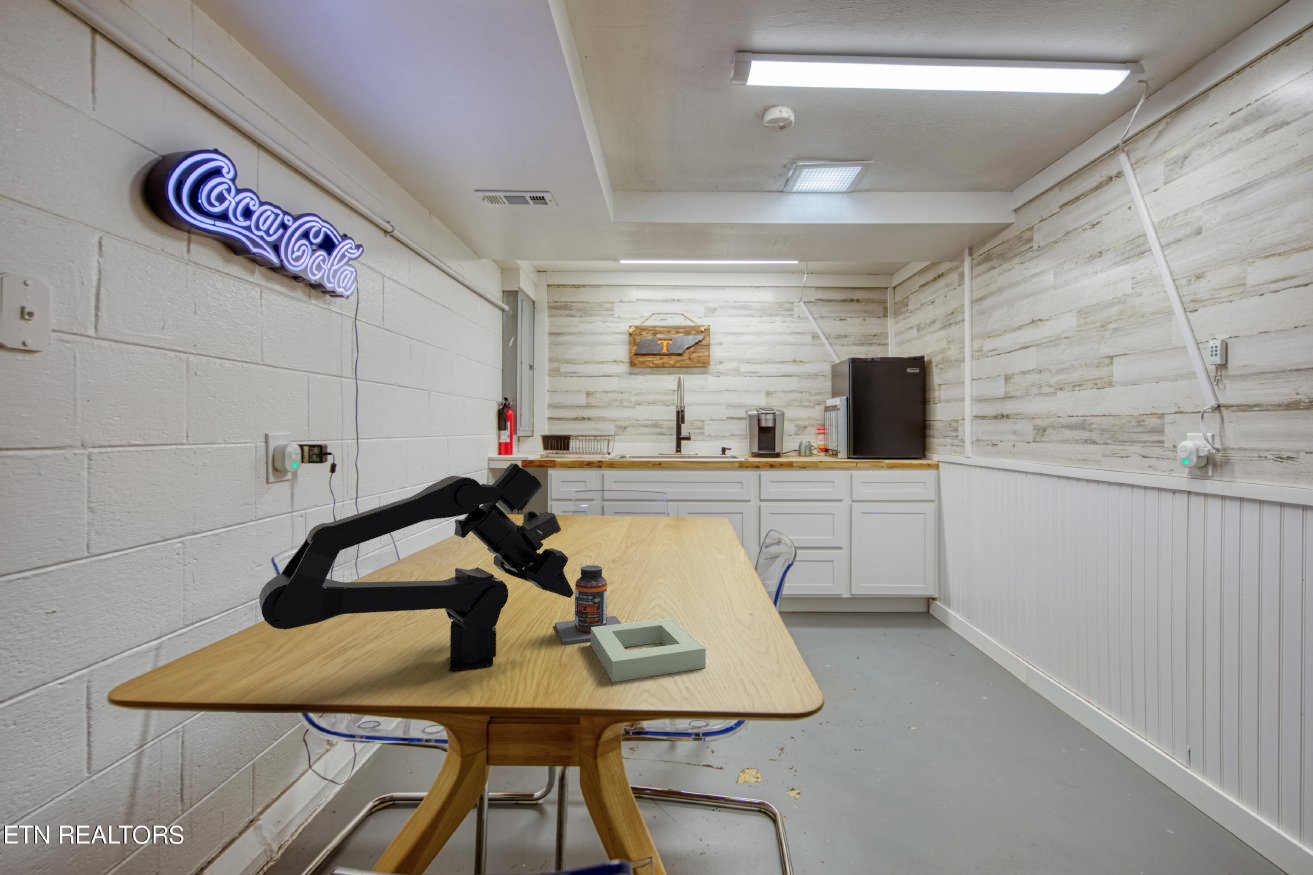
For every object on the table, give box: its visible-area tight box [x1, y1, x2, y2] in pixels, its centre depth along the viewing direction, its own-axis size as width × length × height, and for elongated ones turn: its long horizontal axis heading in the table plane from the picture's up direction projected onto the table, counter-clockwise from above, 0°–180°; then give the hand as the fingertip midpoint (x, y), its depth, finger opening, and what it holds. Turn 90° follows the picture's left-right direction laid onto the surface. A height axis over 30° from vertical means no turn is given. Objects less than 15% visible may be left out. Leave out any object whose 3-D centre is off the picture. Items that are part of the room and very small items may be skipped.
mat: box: [554, 615, 623, 646], centre depth 95 cm, size 12×10×1 cm
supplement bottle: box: [574, 564, 608, 633], centre depth 95 cm, size 6×6×11 cm
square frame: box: [590, 617, 707, 683], centre depth 84 cm, size 15×15×3 cm
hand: (559, 590), depth 91 cm, fingers open, 9 cm apart
